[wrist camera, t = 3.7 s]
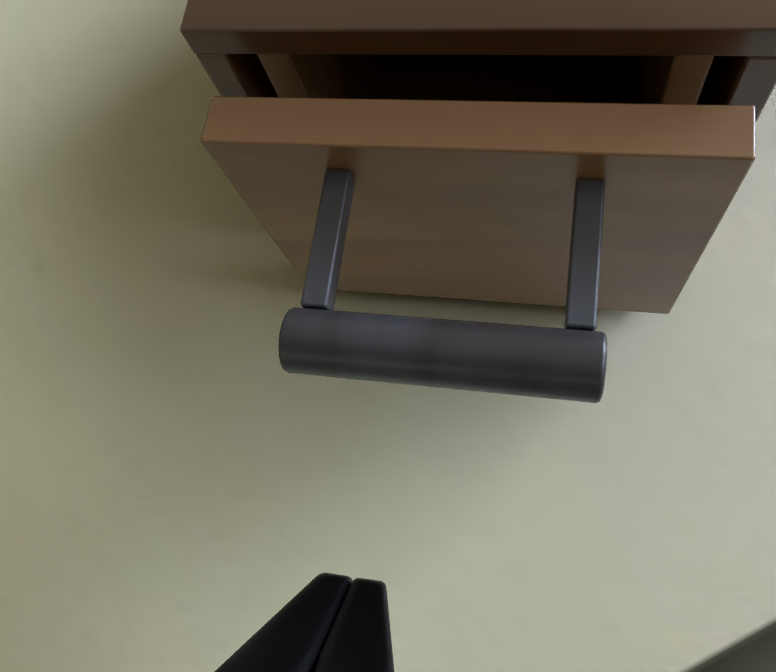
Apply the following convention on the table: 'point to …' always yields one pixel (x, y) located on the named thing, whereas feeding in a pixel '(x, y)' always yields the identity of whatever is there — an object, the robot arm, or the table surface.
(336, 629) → the robot arm
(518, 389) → the drawer
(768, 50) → the cabinet
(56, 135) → the table surface
